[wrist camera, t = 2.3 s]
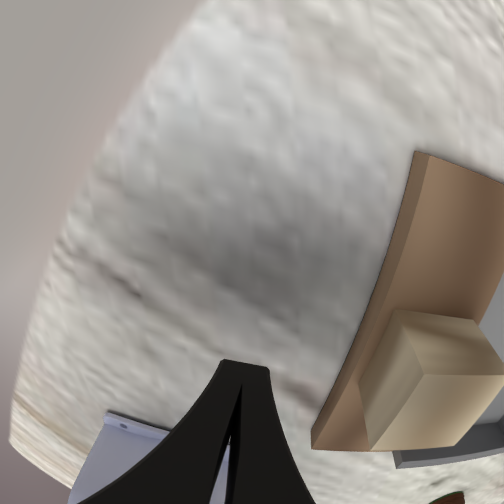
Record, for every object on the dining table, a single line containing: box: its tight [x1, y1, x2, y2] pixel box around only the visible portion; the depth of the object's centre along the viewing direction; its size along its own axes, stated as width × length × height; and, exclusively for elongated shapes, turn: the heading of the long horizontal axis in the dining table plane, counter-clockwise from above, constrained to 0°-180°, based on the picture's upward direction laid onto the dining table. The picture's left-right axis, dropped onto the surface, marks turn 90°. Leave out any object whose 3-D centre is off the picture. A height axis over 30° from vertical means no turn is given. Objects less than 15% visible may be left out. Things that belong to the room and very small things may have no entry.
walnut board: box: [311, 151, 504, 452], centre depth 12 cm, size 5×15×1 cm, turn 171°
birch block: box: [358, 308, 504, 451], centre depth 10 cm, size 4×4×4 cm
